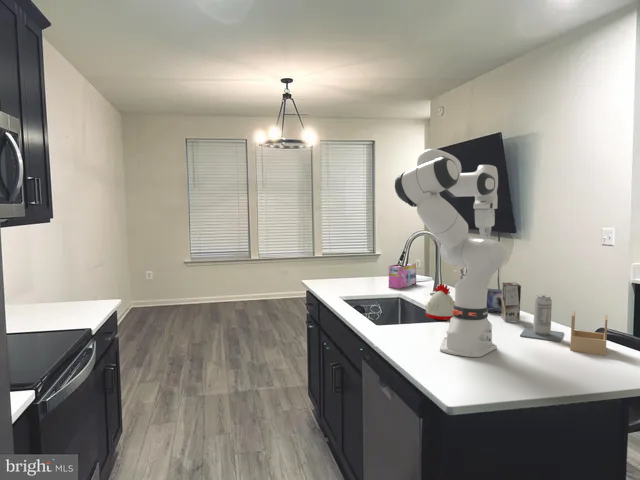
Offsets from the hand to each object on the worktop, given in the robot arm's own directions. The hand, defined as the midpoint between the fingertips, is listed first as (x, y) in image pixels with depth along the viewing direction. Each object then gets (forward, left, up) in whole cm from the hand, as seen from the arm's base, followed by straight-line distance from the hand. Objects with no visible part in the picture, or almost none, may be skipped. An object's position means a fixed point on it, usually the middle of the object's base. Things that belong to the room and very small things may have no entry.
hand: (485, 238), depth 193 cm
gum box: (+76, +66, -37) cm, 108 cm away
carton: (-13, -39, -37) cm, 55 cm away
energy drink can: (-2, -23, -37) cm, 43 cm away
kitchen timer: (+8, +20, -37) cm, 43 cm away
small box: (+31, +1, -37) cm, 49 cm away
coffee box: (+18, -8, -37) cm, 42 cm away
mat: (-2, -23, -37) cm, 44 cm away
